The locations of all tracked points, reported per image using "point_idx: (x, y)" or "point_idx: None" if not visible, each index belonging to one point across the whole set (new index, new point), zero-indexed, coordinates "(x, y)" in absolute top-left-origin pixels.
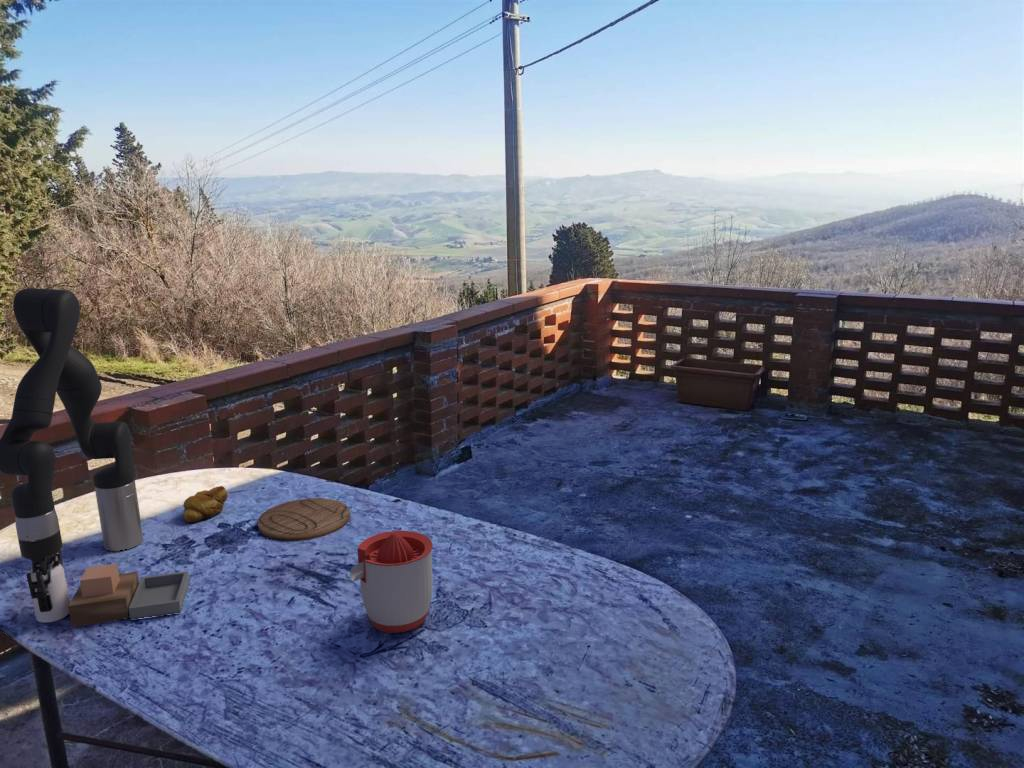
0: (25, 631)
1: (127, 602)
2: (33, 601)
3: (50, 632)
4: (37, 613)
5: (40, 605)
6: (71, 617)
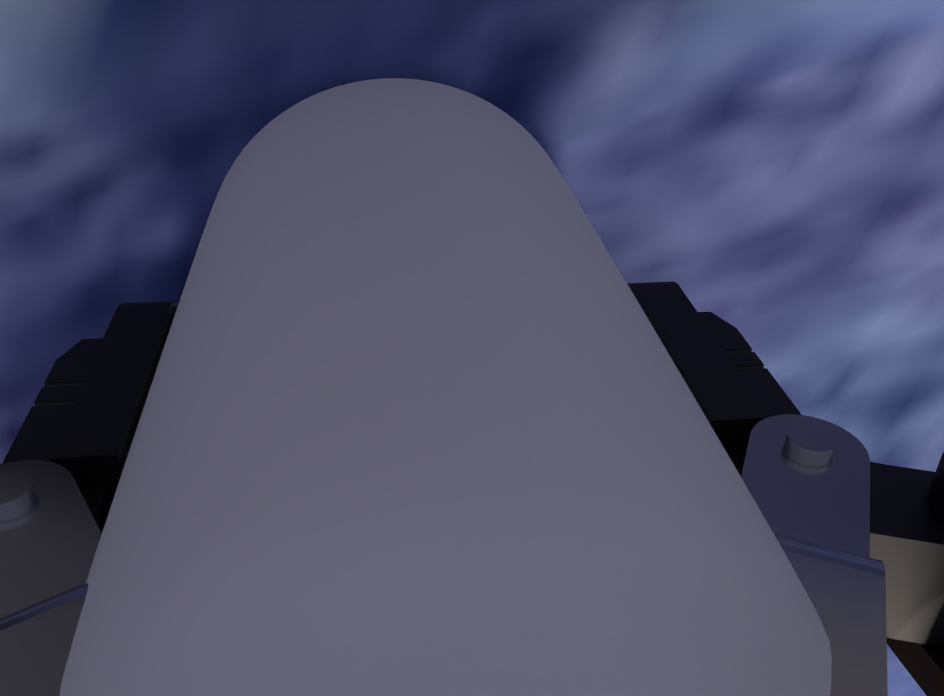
0: (61, 21)
1: None
2: (251, 229)
3: (13, 325)
4: (227, 192)
5: (43, 406)
6: None
